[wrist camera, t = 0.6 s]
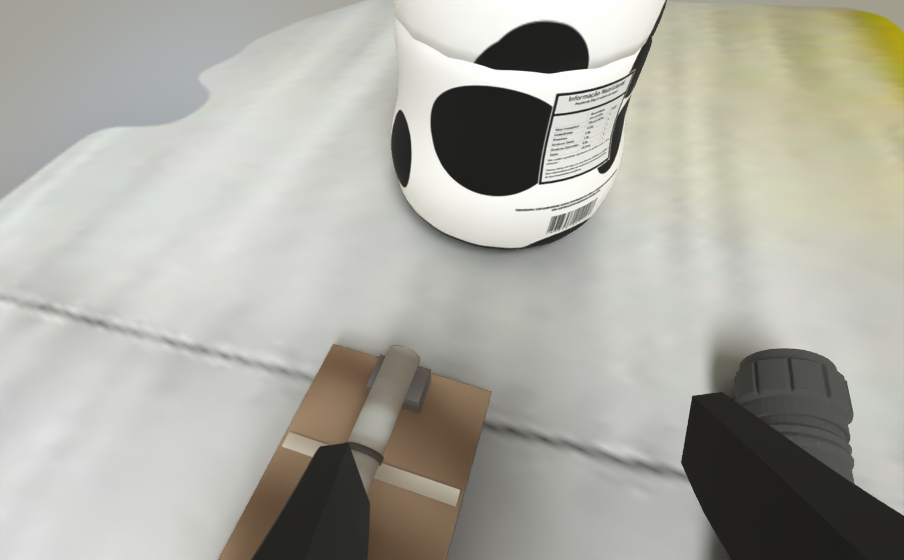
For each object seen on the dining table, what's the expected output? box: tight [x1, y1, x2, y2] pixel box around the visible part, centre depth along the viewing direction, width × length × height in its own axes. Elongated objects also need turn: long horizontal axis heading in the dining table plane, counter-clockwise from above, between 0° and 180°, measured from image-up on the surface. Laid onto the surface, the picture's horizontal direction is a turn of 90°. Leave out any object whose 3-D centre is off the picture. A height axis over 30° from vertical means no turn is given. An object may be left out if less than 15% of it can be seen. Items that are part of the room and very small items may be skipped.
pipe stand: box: [218, 344, 491, 560], centre depth 20 cm, size 20×10×5 cm, turn 163°
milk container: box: [391, 0, 667, 249], centre depth 31 cm, size 17×17×18 cm
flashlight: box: [735, 348, 854, 484], centre depth 22 cm, size 15×5×5 cm, turn 161°
